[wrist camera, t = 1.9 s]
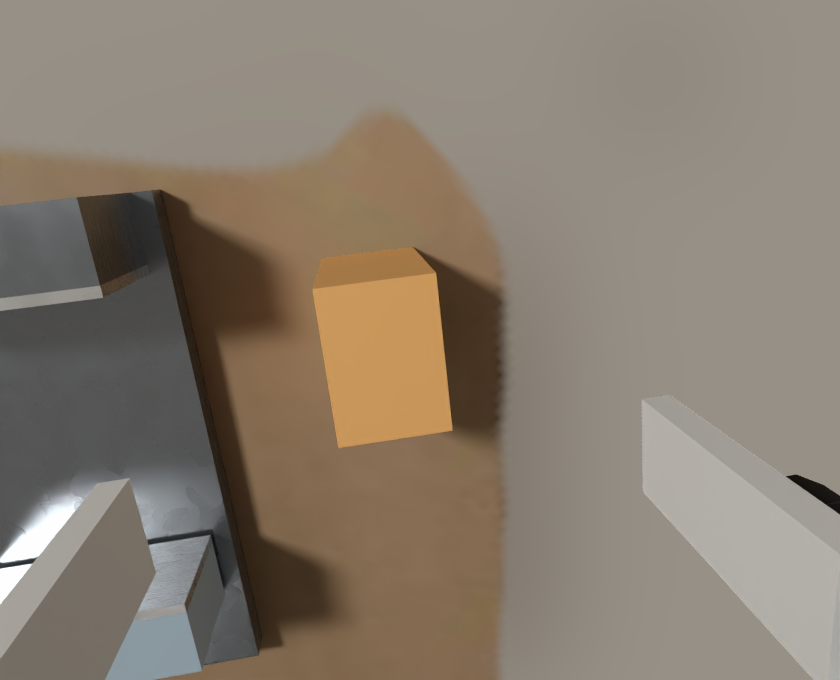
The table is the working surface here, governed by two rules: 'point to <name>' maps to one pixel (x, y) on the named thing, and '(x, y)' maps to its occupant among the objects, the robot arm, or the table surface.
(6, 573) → the block
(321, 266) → the light orange block
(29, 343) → the vise base
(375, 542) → the table surface
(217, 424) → the table surface
